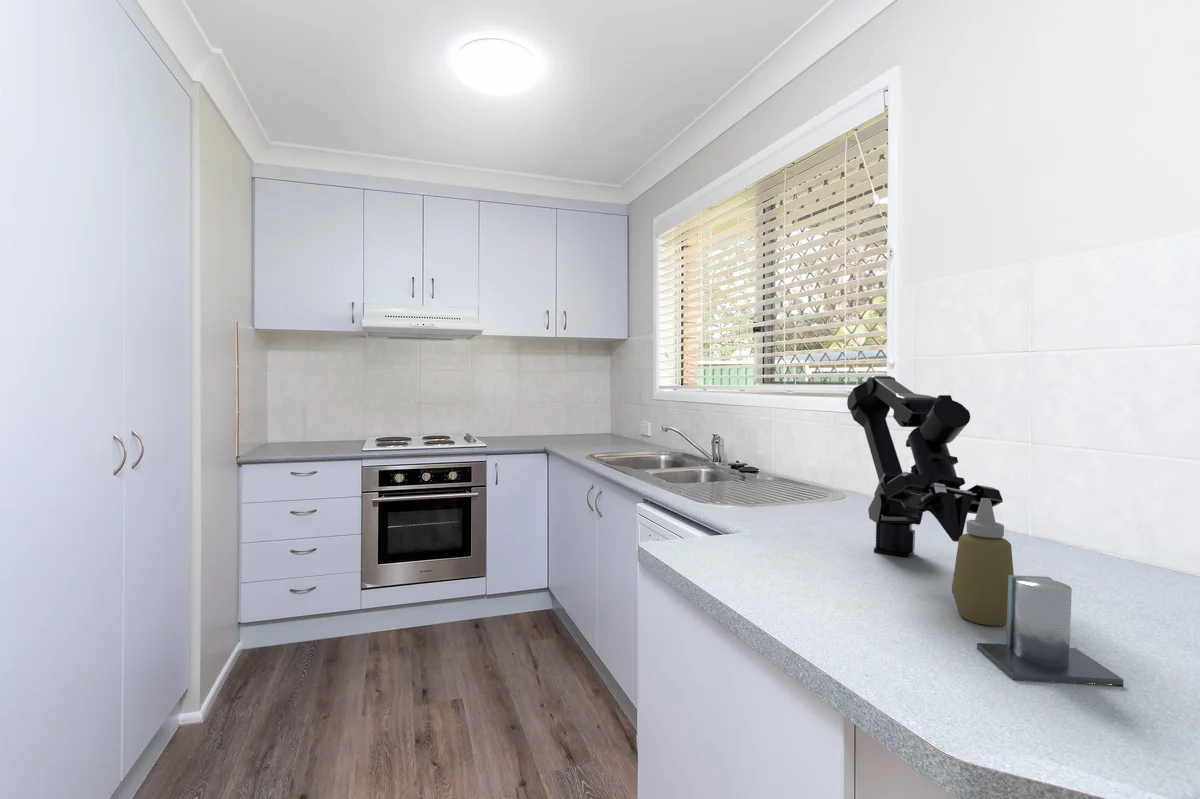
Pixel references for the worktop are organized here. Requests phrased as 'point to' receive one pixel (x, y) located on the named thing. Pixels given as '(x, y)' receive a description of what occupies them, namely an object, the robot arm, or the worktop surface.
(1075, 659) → the bookend
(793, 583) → the worktop surface
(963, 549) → the squeeze bottle
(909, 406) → the robot arm
